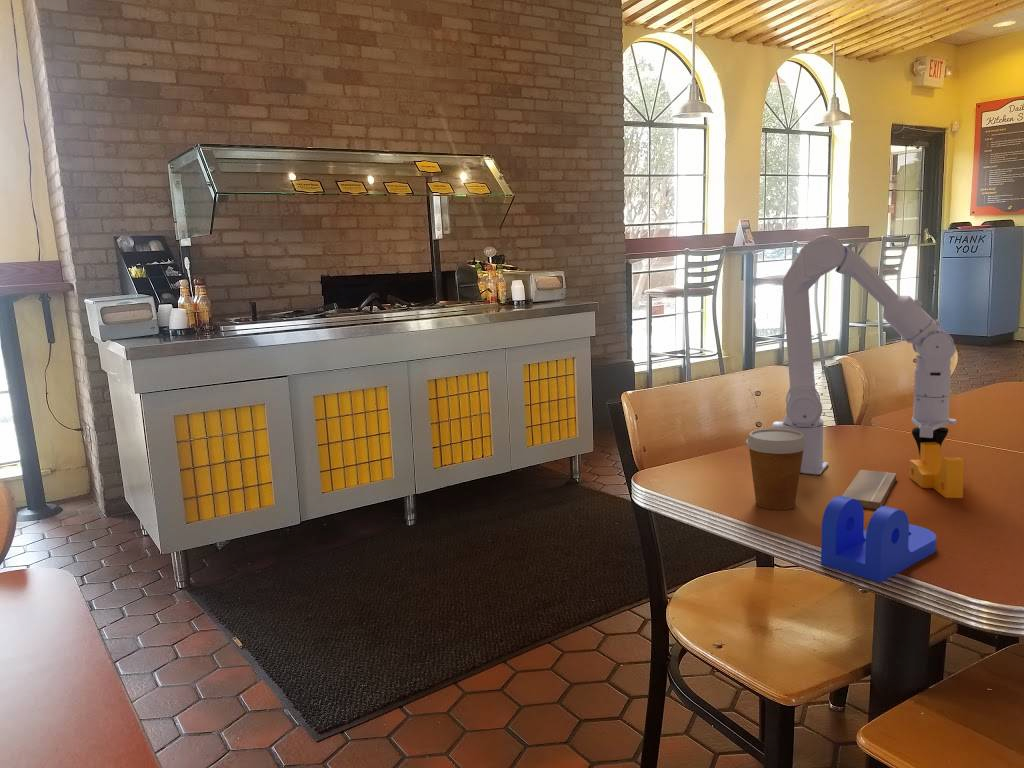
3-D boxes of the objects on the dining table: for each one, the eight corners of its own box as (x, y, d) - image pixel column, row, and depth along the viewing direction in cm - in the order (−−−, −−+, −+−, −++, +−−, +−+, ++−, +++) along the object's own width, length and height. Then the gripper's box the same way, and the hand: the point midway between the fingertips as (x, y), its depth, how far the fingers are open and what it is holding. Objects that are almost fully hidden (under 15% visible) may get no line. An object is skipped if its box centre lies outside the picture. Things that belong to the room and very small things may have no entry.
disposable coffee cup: (779, 517, 126) (780, 444, 124) (733, 502, 134) (733, 434, 132) (818, 505, 130) (819, 434, 128) (771, 491, 138) (772, 425, 136)
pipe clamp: (909, 477, 143) (910, 442, 142) (934, 476, 142) (936, 442, 141) (934, 498, 131) (936, 460, 130) (962, 498, 130) (964, 460, 129)
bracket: (880, 584, 101) (882, 516, 99) (820, 565, 107) (822, 502, 106) (946, 547, 111) (949, 486, 110) (889, 532, 118) (891, 474, 116)
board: (840, 504, 130) (840, 497, 130) (860, 475, 145) (860, 469, 145) (880, 509, 127) (880, 502, 127) (896, 479, 142) (896, 473, 141)
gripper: (953, 403, 134) (950, 480, 136) (959, 388, 146) (956, 459, 148) (907, 401, 138) (905, 475, 140) (917, 386, 150) (914, 456, 152)
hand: (928, 467), depth 144 cm, fingers closed
